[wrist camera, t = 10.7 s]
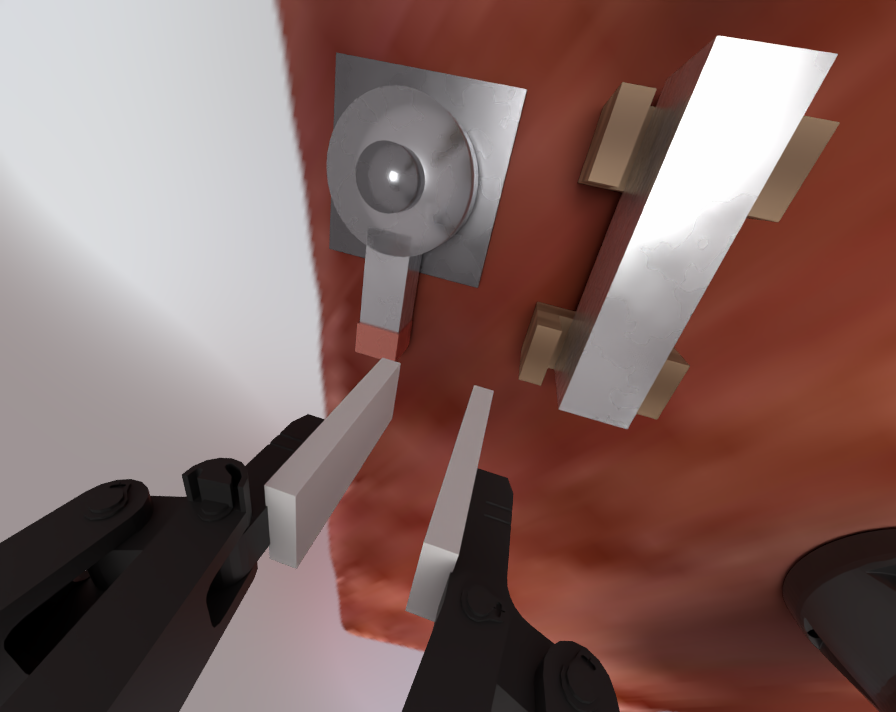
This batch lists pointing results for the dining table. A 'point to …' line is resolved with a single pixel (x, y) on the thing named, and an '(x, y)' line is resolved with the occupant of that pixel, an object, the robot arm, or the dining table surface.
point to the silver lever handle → (398, 200)
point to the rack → (611, 170)
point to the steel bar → (681, 215)
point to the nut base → (490, 131)
